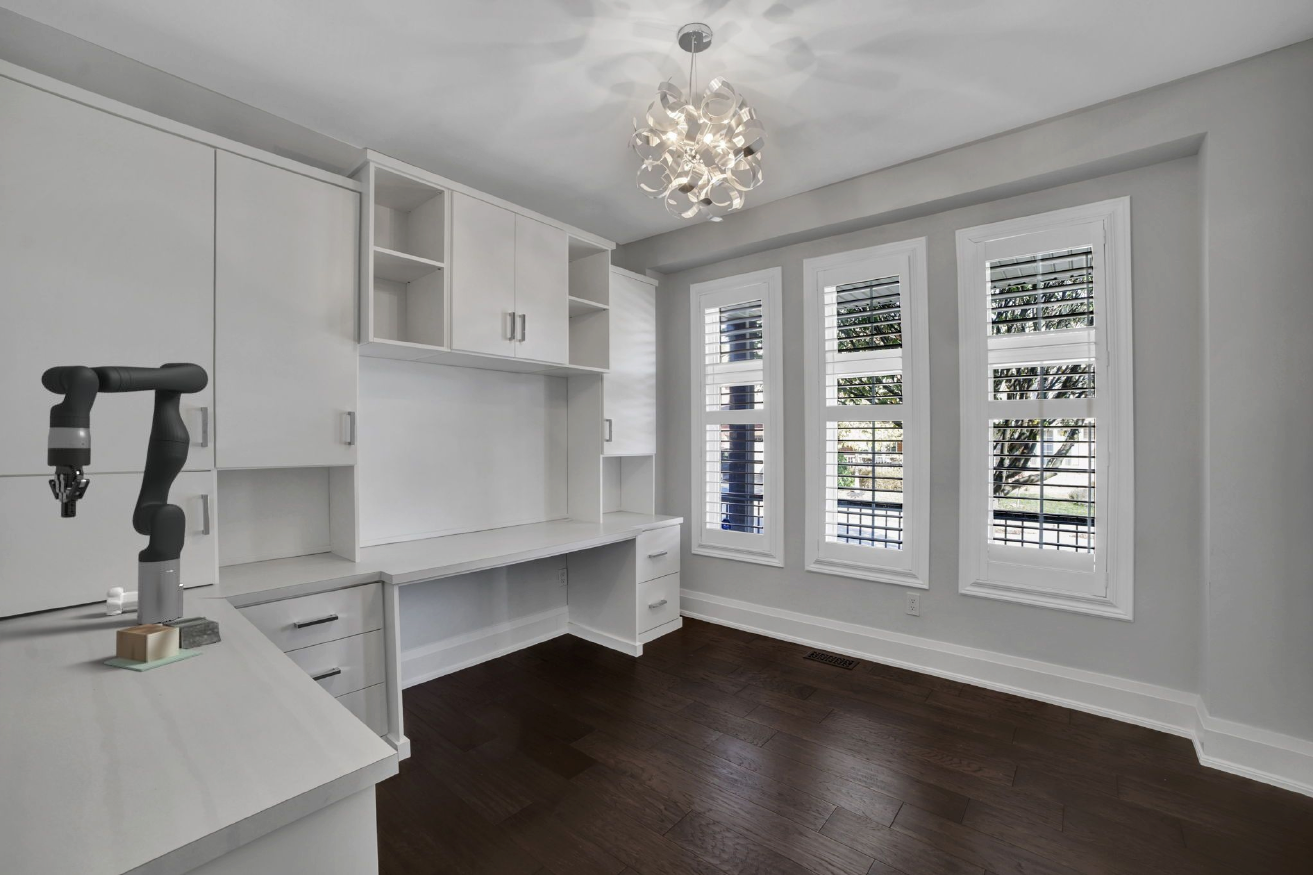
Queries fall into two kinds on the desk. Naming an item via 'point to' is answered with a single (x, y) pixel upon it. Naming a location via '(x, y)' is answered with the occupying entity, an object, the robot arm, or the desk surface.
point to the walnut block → (147, 642)
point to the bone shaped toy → (120, 600)
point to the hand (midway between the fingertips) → (68, 517)
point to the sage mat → (145, 666)
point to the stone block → (195, 631)
